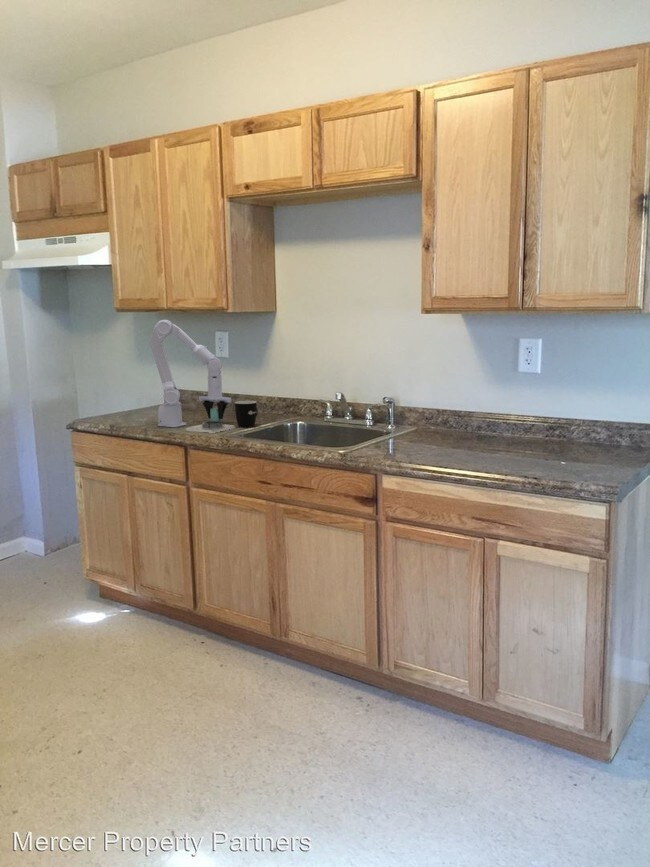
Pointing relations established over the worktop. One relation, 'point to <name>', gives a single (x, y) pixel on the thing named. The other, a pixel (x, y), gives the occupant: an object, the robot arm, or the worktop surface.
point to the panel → (210, 427)
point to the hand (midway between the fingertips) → (215, 418)
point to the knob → (214, 414)
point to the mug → (246, 413)
